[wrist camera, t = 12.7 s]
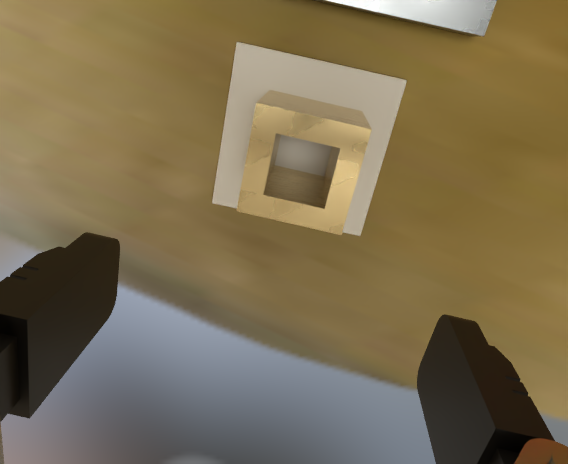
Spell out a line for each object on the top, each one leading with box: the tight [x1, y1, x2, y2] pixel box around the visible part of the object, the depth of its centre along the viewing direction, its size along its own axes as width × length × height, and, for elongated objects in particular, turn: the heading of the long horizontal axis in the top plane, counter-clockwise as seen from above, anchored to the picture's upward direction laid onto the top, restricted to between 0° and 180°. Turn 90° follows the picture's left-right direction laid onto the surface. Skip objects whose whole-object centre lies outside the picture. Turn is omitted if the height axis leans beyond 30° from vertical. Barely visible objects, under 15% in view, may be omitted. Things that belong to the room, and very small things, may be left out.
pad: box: [212, 42, 407, 236], centre depth 29 cm, size 10×10×1 cm
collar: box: [236, 90, 372, 235], centre depth 26 cm, size 6×6×6 cm
